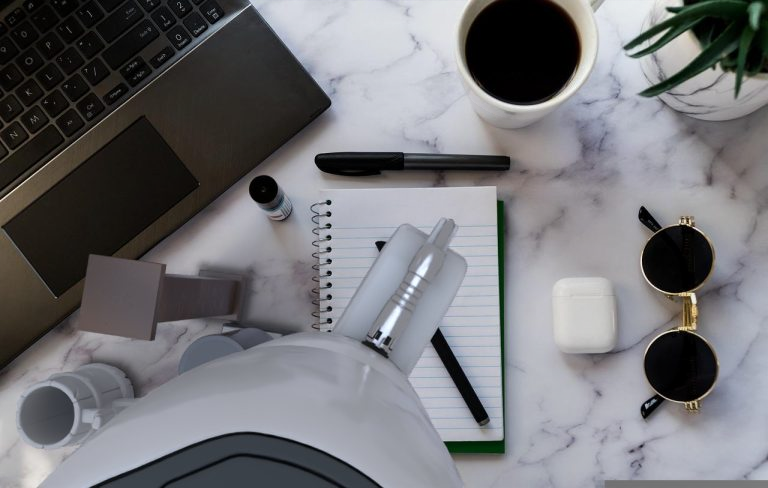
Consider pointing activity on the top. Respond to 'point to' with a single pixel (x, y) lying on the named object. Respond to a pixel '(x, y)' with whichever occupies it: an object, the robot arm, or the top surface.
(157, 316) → the stand
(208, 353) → the grey cylinder
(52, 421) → the mug
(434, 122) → the top surface
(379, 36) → the top surface
